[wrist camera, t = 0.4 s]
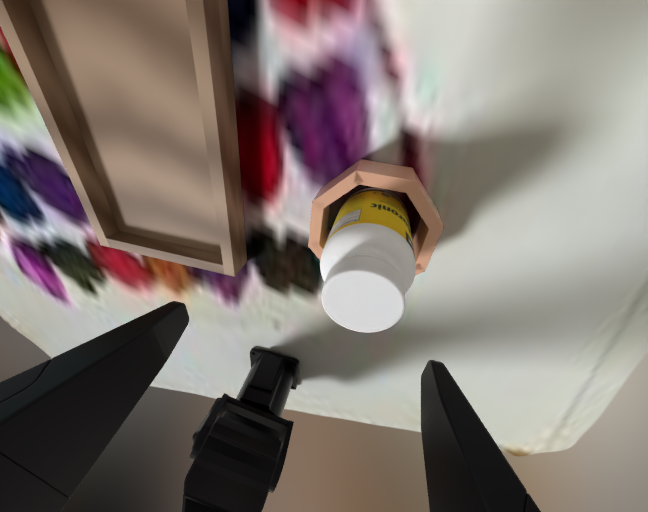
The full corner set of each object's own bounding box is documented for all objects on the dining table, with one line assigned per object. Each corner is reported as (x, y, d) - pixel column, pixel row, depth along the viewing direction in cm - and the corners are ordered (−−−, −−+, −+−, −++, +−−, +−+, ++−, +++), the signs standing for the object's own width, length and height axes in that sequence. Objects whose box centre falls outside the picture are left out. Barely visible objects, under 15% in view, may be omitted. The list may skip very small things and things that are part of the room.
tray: (247, 261, 25) (234, 276, 23) (122, 233, 27) (100, 245, 25) (224, -33, 14) (196, -54, 12) (12, -52, 16) (-45, -73, 14)
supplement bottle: (423, 226, 20) (445, 321, 12) (365, 258, 22) (351, 355, 14) (381, 169, 18) (374, 235, 10) (325, 212, 21) (284, 290, 13)
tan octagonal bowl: (411, 273, 22) (414, 297, 20) (314, 253, 23) (305, 272, 21) (450, 173, 17) (460, 188, 15) (325, 152, 18) (315, 163, 16)
